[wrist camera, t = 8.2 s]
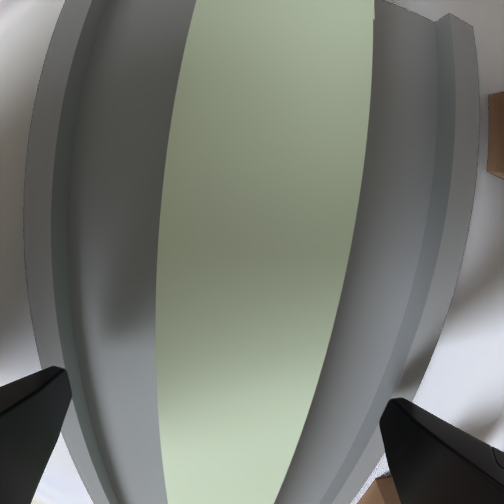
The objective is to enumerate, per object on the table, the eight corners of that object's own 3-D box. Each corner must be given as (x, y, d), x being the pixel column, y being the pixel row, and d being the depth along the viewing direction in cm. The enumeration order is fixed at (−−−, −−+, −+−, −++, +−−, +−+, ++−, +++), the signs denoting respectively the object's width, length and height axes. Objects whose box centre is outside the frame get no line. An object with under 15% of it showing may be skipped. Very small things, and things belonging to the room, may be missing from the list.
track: (109, 503, 12) (104, 522, 10) (98, -14, 6) (81, -35, 5) (316, 520, 12) (320, 539, 11) (448, 39, 7) (472, 26, 6)
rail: (241, 525, 11) (243, 569, 8) (183, 520, 11) (178, 564, 8) (334, 7, 6) (372, -51, 3) (223, -10, 6) (219, -78, 3)
